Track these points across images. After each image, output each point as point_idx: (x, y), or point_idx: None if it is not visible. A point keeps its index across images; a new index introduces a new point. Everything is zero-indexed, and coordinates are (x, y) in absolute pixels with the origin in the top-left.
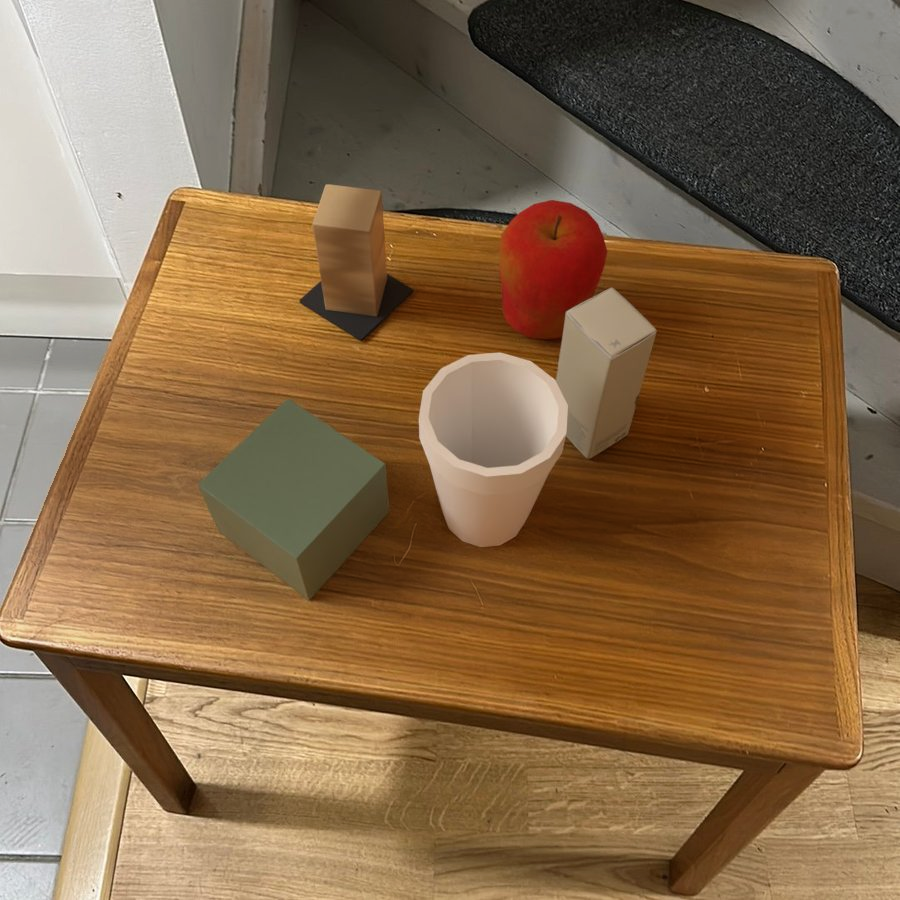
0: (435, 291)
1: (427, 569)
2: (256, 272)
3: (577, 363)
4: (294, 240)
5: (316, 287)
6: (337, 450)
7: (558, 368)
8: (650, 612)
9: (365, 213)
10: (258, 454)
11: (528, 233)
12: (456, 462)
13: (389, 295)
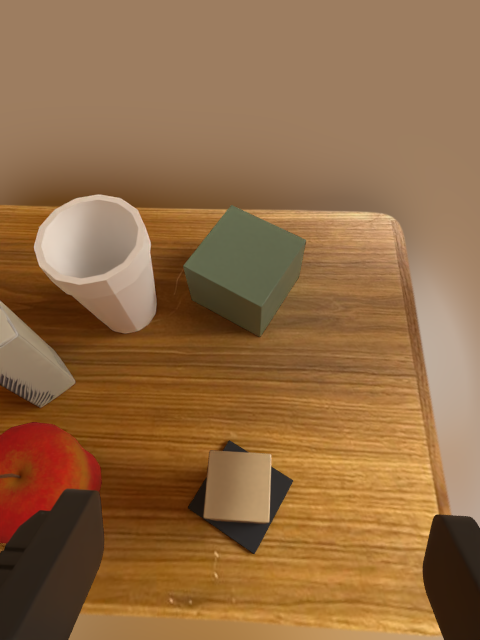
0: (167, 512)
1: (165, 268)
2: (344, 517)
3: (27, 332)
4: (319, 571)
5: (280, 499)
6: (217, 270)
7: (49, 359)
8: (34, 258)
9: (217, 476)
10: (271, 263)
11: (43, 468)
12: (118, 200)
13: None
